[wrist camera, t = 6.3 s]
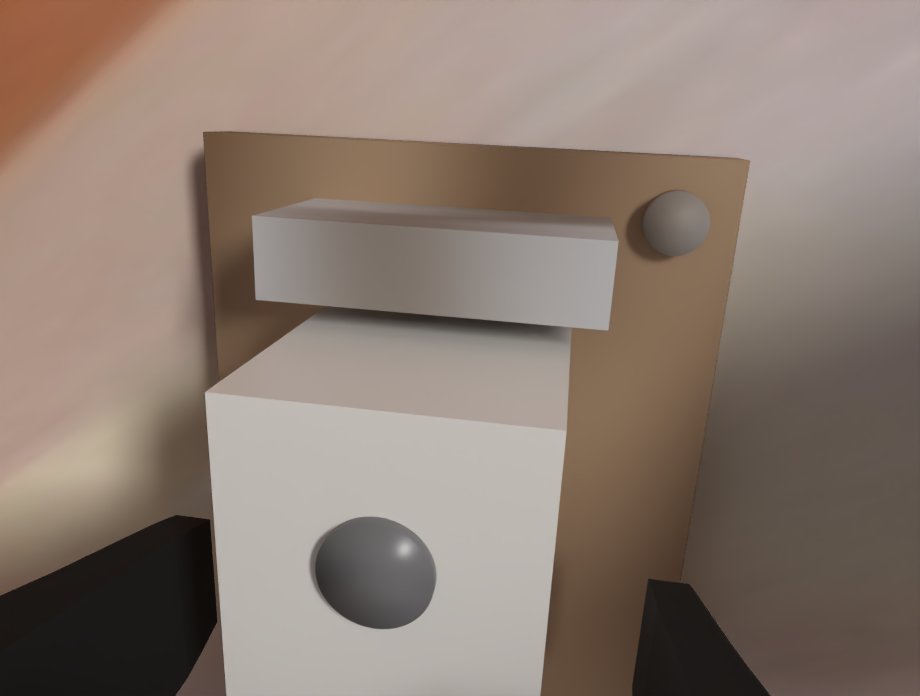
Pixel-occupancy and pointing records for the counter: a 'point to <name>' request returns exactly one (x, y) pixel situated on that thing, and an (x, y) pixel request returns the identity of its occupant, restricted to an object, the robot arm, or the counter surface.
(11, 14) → the counter surface
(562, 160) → the mounting bracket
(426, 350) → the power strip block
